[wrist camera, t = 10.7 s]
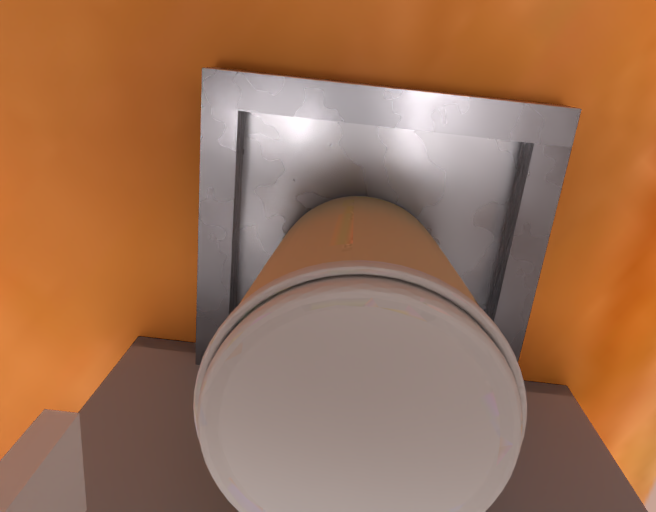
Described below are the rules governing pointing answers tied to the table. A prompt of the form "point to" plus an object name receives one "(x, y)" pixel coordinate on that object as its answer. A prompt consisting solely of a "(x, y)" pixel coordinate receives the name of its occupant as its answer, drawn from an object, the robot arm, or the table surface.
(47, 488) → the robot arm
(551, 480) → the wall board
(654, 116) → the table surface
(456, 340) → the coffee cup
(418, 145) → the plate
